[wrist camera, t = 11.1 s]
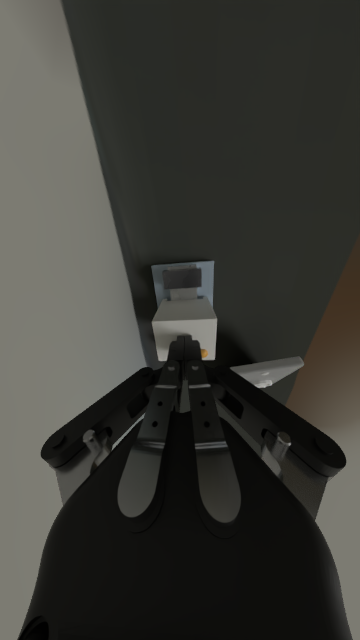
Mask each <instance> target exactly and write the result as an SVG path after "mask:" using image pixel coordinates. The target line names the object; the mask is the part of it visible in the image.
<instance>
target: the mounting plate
mask: <svg viewBox="0 0 360 640" xmlns="http://www.w3.org/2000/svg"><path fill="white" fill-rule="evenodd" d="M193 264H196V265H197V268H201V269H202V287H197V299H203V297H208V300H209V302H210V304H211V306H213V275H214V261H212V260H211V261H198V262H186V263H173V264H160V265H153V266H151V268H152V274H153V280H154V287H155V293H156V299H157V305H158V308H159V306H160V304H161V302H162V300H163V299H167V301H171V295H170V289H166V290H164V282H163V275H162V272H163V271H164V270H168V268H167V267H168V266H180V265H193Z"/></svg>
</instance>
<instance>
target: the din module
mask: <svg viewBox="0 0 360 640" xmlns="http://www.w3.org/2000/svg"><path fill="white" fill-rule="evenodd" d="M152 326H153V331H154V337H155V342H156V348H157V353H158V358H159V361H167V357H168V351H169V346H170V343H171V342H172V341H177V336H184V337H185V336H189V335H192V340H198V342H199V343H200V348H201V355H202V360H215V349H216V331H217V317H216V315H215V313H214V311H213V308H212V306H211V304H210V302H209V300H208V297H203V299H194V300H176V301H167V299H163V300H162V302H161V304H160V306H159V308H158V310H157V312H156V314H155V316H154V318H153V320H152Z"/></svg>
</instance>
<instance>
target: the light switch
mask: <svg viewBox="0 0 360 640" xmlns="http://www.w3.org/2000/svg"><path fill="white" fill-rule="evenodd" d="M302 366H304V363H303V361H302V359H301V358H300V357H292V358H286V359H280V360H274V361H267V362H261V363H255V364H249V365H242V366H236V367H230V369H231V370H233V371H234V372H236V373H237V374H239V375H240V376H242V377H243V378H245V379H246V380H247V381H249V382H250V383H252V384H253V385H255V386H256V387H258V388H261V387H263V388H265V387H266V386H272V384H273V383H275V382H277V381H278V380H280V379H282V378H283V377H285V376H287V375H289V374H290V373H292V372H294V371H295V370H297V369H299V368H300V367H302Z"/></svg>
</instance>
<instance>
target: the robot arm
mask: <svg viewBox="0 0 360 640" xmlns="http://www.w3.org/2000/svg"><path fill="white" fill-rule="evenodd" d="M185 374H186V380H188V391H189V401H190V411H189V412H185V413H180V403H181V395H182V384H183V380H185ZM215 401H216V402H217V403H218V404H219V405H220V406H221V407H222V408H223V409H224V410H225V411H226V412H227V413H228V414H229V415H230V416H231V417H232V418H233V419H234V420H235V421H236V422H237V423H238V424H239V425H240V426H241V427H242V428H243V429H244V430H245V431H246V432H247V433H248V434H249V435H250V436H251V437H252V438H253V439H254V440H255V441H256V442H257V443H258V444H259V445H260V446H261V453H262V456H263V458H264V460H265V461H266V463H267V464H268V465H269V467H270V468H271V469H272V470H271V469H270V468H269V467H268V466H267V465H266V463H265V462H264V461H263V460H262V459H261V458H260V457H259V456H258V454H257V453H256V452H255V451H254V450H253V449H252V448H251V447H250V446H249V445H248V443H247V442H246V441H245V440H244V439H243V438H242V437H241V436H240V435H239V433H238V432H237V431H236V430H235V429H234V428H233V427H232V426H231V425H230V424H229V423H228V422H227V421H226V420H224V419H223V418H221V417H219V415H218V411H217V407H216V404H215ZM144 413H145V416H144V418H143V419H142V420H141V421H139V422H138V423H137V424H136V425H135V426H134V427H133V428H132V429H131V431H130V432H129V433H128V434H127V435H126V436H125V437H124V438H123V439H122V440H121V441H120V443H119V444H118V445H117V446H116V447H115V448H114V449H113V450H112V446H113V444H114V443H115V442H116V441H117V440H118V439H119V438H120V437H121V436H122V435H123V434H124V433H125V432H126V431H127V430H128V429H129V428H130V427H131V426H132V425H133V424H134V423H135V422H136V421H137V420H138V419H139V418H140V417H141V416H142V415H143V414H144ZM41 457H42V458H43V459H44V460H45V461H46V462H47V463H49V466H50V467H51V468H53V469H54V470H55V471H56V476H57V480H58V485H59V489H60V493H61V498H62V502H63V507H62V509H61V510H60V512H59V514H58V515H57V517H56V519H55V521H54V523H53V525H52V527H51V529H50V532H49V534H48V537H47V540H46V543H45V546H44V549H43V554H42V558H41V563H40V568H39V573H38V577H37V582H36V586H35V589H34V593H33V596H32V599H31V603H30V606H29V609H28V612H27V615H26V618H25V621H24V624H23V627H22V629H21V632H20V635H19V637H18V639H17V640H353V639H352V636H351V633H350V629H349V625H348V621H347V617H346V613H345V608H344V604H343V598H342V593H341V586H340V581H339V576H338V573H337V569H336V566H335V562H334V559H333V557H332V554H331V552H330V549H329V547H328V545H327V542H326V540H325V538H324V536H323V534H322V532H321V531H320V529H319V527H318V526H317V524H316V522H315V519H316V516H317V513H318V509H319V506H320V503H321V500H322V497H323V493H324V490H325V487H326V483H327V482H328V481H329V480H330V479H332V478H333V477H334V476H335V475H336V474H337V473H338V472H339V471H340V470H341V469H343V468H344V467H345V465H346V457H345V455H344V453H343V451H342V450H341V448H340V447H339V446H338V444H337V443H336V442H335V441H334V440H332V439H331V438H330V437H329V436H327V435H326V434H324V433H323V432H321V431H320V430H319V429H317V428H316V427H314V426H312V425H311V424H310V423H308V422H307V421H306V420H304V419H303V418H301V417H300V416H298V415H297V414H295V413H294V412H292V411H291V410H290V409H288V408H287V407H285V406H284V405H282V404H281V403H279V402H278V401H276V400H275V399H274V398H272V397H271V396H269V395H268V394H266V393H265V392H263V391H262V390H260V389H259V388H258V387H256V386H255V385H253V384H252V383H250V382H249V381H247V380H246V379H245V378H243V377H242V376H240V375H239V374H237V373H236V372H234V371H233V370H231V369H230V368H228V367H226V366H217V367H216V368H215V369H213V368H209V367H207V366H205V365H204V364H203V361H202V355H201V348H200V343H199V342H198V340H192V335H189V336H185V337H184V336H177V341H172V342H171V343H170V346H169V351H168V357H167V362H166V363H165V364H164V365H163V367H162V368H160V369H158V370H154V371H153V369H152V368H150V367H145V368H142V369H140V370H139V371H137V372H136V373H135V374H133V375H132V376H131V377H129V378H128V379H126V380H125V381H124V382H122V383H121V384H120V385H118V386H117V387H116V388H114V389H113V390H112V391H110V392H109V393H108V394H106V395H105V396H103V397H102V398H101V399H99V400H98V401H97V402H95V403H94V404H93V405H91V406H90V407H89V408H87V409H86V410H85V411H83V412H82V413H81V414H79V415H78V416H76V417H75V418H74V419H72V420H71V421H70V422H68V423H67V424H66V425H64V426H63V427H62V428H60V429H59V430H58V431H56V432H55V433H54V434H52V435H51V436H50V437H49V439H48V440H47V441H46V442H45V444H44V445H43V447H42V450H41Z"/></svg>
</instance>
